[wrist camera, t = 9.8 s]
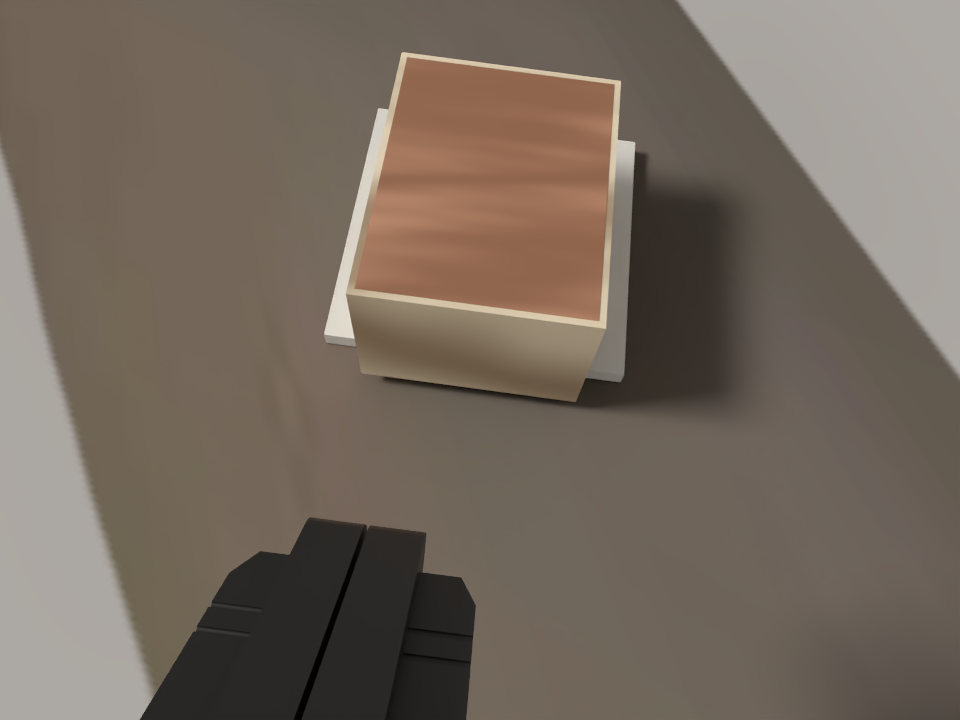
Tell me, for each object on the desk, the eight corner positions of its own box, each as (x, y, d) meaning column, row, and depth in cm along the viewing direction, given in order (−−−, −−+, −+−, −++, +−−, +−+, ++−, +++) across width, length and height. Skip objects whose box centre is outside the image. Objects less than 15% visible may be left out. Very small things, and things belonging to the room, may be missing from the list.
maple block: (606, 328, 21) (620, 80, 25) (345, 293, 21) (402, 51, 25) (575, 402, 25) (592, 182, 29) (361, 373, 26) (406, 157, 29)
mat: (620, 382, 26) (624, 374, 26) (326, 342, 27) (324, 334, 26) (631, 152, 31) (635, 142, 30) (379, 119, 31) (378, 108, 30)
